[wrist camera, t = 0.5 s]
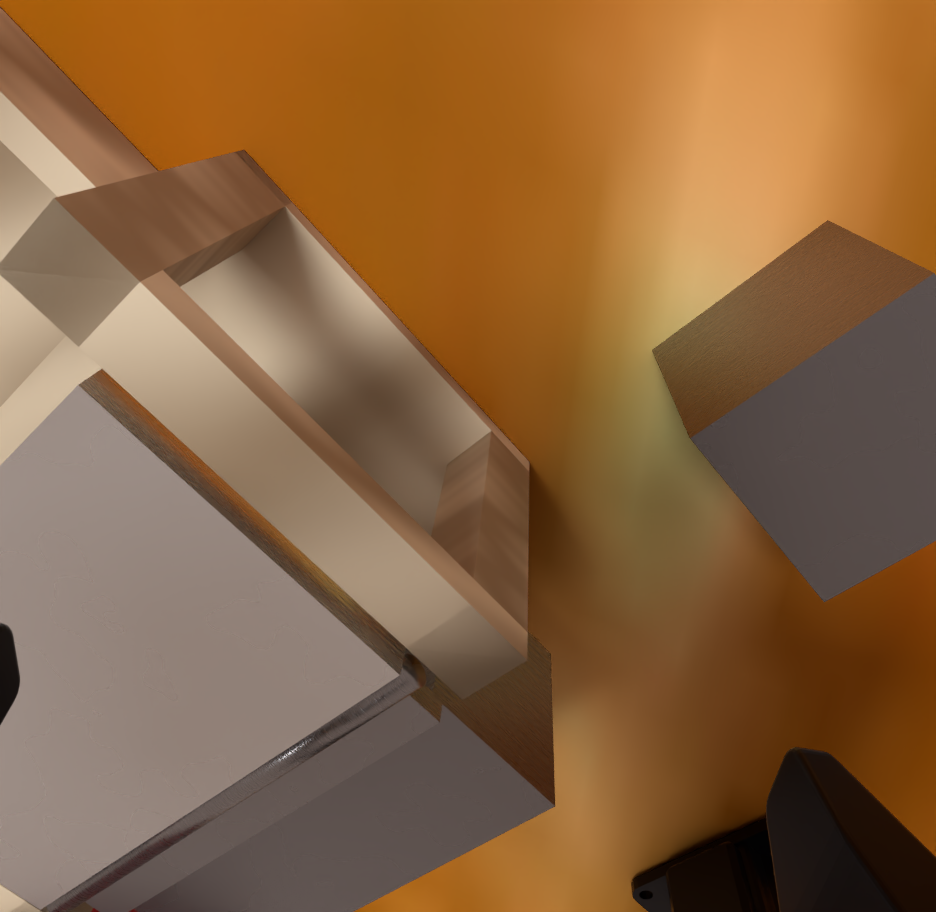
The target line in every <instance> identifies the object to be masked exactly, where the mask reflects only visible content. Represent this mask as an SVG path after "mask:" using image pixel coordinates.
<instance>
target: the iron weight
mask: <svg viewBox="0 0 936 912" xmlns="http://www.w3.org/2000/svg"><path fill="white" fill-rule="evenodd" d="M652 351H653V353H654V355H655V358H656V360H657V362H658V365H659V367H660V369H661V372H662V374H663V376H664V379H665V381H666V383H667V386H668V388H669V390H670V393H671V395H672V397H673V400H674V402H675V404H676V407H677V409H678V411H679V414H680V416H681V418H682V421H683V423H684V425H685V428H686V430H687V432H688V435H689V437H690V439H691V440H692V441H693V443H694V444H695V445H696V446H697V447H698V449H699V450H700V451H701V452H702V454H703V455H704V456H705V457H706V458H707V460H708V461H709V462H710V463H711V465H712V466H713V467H714V468H715V469H716V471H717V472H718V473H719V474H720V476H721V477H722V478H723V479H724V480H725V482H726V483H727V484H728V485H729V487H730V488H731V489H732V490H733V491H734V493H735V494H736V495H737V496H738V498H739V499H740V500H741V501H742V502H743V504H744V505H745V506H746V507H747V509H748V510H749V511H750V512H751V513H752V515H753V516H754V517H755V518H756V519H757V521H758V522H759V523H760V524H761V526H762V527H763V528H764V529H765V530H766V532H767V533H768V534H769V535H770V537H771V538H772V539H773V540H774V541H775V543H776V544H777V545H778V546H779V548H780V549H781V550H782V551H783V552H784V554H785V555H786V556H787V557H788V559H789V560H790V561H791V562H792V563H793V565H794V566H795V567H796V568H797V570H798V571H799V572H800V573H801V574H802V576H803V577H804V578H805V579H806V581H807V582H808V583H809V584H810V585H811V587H812V588H813V589H814V590H815V592H816V593H817V594H818V595H819V596H820V598H821V599H822V600H823V601H824V602H825V601H827V600H829V599H831V598H833V597H834V596H836V595H838V594H840V593H842V592H844V591H845V590H847V589H849V588H851V587H853V586H854V585H856V584H858V583H860V582H862V581H863V580H865V579H867V578H869V577H871V576H873V575H874V574H876V573H878V572H880V571H882V570H883V569H885V568H887V567H889V566H891V565H892V564H894V563H896V562H898V561H900V560H902V559H903V558H905V557H907V556H909V555H911V554H912V553H914V552H916V551H918V550H920V549H921V548H923V547H925V546H927V545H929V544H931V543H932V542H934V541H936V275H935V273H933V272H931V271H929V270H927V269H925V268H923V267H921V266H919V265H917V264H915V263H913V262H911V261H909V260H907V259H905V258H903V257H901V256H899V255H897V254H895V253H893V252H891V251H889V250H887V249H885V248H883V247H881V246H879V245H877V244H875V243H872V242H870V241H868V240H866V239H864V238H862V237H860V236H858V235H856V234H854V233H852V232H850V231H848V230H846V229H844V228H842V227H840V226H838V225H836V224H834V223H832V222H830V221H828V220H827V221H826V222H825V223H823V224H822V225H821V226H819V227H818V228H817V229H815V230H814V231H813V232H811V233H810V234H809V235H807V236H806V237H804V238H803V239H802V240H800V241H799V242H798V243H796V244H795V245H794V246H792V247H791V248H790V249H788V250H787V251H786V252H784V253H783V254H781V255H780V256H779V257H777V258H776V259H775V260H773V261H772V262H771V263H769V264H768V265H767V266H765V267H764V268H762V269H761V270H760V271H758V272H757V273H756V274H754V275H753V276H752V277H750V278H749V279H748V280H746V281H745V282H744V283H742V284H741V285H739V286H738V287H737V288H735V289H734V290H733V291H731V292H730V293H729V294H727V295H726V296H725V297H723V298H722V299H721V300H719V301H718V302H716V303H715V304H714V305H712V306H711V307H710V308H708V309H707V310H706V311H704V312H703V313H702V314H700V315H699V316H698V317H696V318H695V319H693V320H692V321H691V322H689V323H688V324H687V325H685V326H684V327H683V328H681V329H680V330H679V331H677V332H676V333H675V334H673V335H672V336H670V337H669V338H668V339H666V340H665V341H664V342H662V343H661V344H660V345H658V346H657V347H656V348H654V349H653V350H652Z"/></svg>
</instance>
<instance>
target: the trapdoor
mask: <svg viewBox="0 0 936 912" xmlns="http://www.w3.org/2000/svg"><path fill="white" fill-rule="evenodd" d="M0 623H3V624H5V625H8V626H9V627H10V629H11V630H12V633H13V637H14V643H15V649H16V655H17V661H18V667H19V673H20V687H19V691H18V694H17V696H16V699H15V701H14V703H13V704H12V706H11V708H10V710H9V711H8V713H7V715H6V717H5V718H4V720H3V722H2V724H1V725H0V884H1V885H3V886H4V887H6V888H7V889H9V890H11V891H12V892H14V893H15V894H17V895H18V896H20V897H21V898H23V899H24V900H26V901H28V902H29V903H31V904H32V905H34V906H35V907H37V908H38V909H40V910H41V909H43V908H44V907H47V910H48V911H49V912H70V911H71V910H73V909H74V908H76V907H78V906H79V905H81V904H82V903H84V902H86V903H87V904H89V905H90V906H92V907H93V908H95V909H96V910H98V911H99V912H129V911H131V910H132V909H135V910H136V911H138V912H353V911H355V910H357V909H359V908H361V907H363V906H365V905H367V904H369V903H371V902H373V901H374V900H376V899H378V898H380V897H382V896H384V895H386V894H388V893H390V892H392V891H394V890H396V889H397V888H399V887H401V886H403V885H405V884H407V883H409V882H411V881H413V880H415V879H417V878H419V877H420V876H422V875H424V874H426V873H428V872H430V871H432V870H434V869H436V868H438V867H440V866H442V865H443V864H445V863H447V862H449V861H451V860H453V859H455V858H457V857H459V856H461V855H463V854H465V853H466V852H468V851H470V850H472V849H474V848H476V847H478V846H480V845H482V844H484V843H486V842H488V841H489V840H491V839H493V838H495V837H497V836H499V835H501V834H503V833H505V832H507V831H509V830H511V829H512V828H514V827H516V826H518V825H520V824H522V823H524V822H526V821H528V820H530V819H532V818H534V817H535V816H537V815H539V814H541V813H543V812H545V811H547V810H549V809H551V808H553V807H555V787H554V752H553V718H552V684H551V653H549V652H548V651H547V650H546V649H545V648H544V647H543V646H542V645H541V644H540V643H539V642H538V641H537V640H536V639H535V638H534V637H533V636H532V635H531V634H530V633H529V632H528V644H527V661H525V662H524V663H522V664H520V665H519V666H517V667H516V668H514V669H512V670H511V671H509V672H507V673H506V674H504V675H502V676H501V677H499V678H498V679H496V680H494V681H493V682H491V683H489V684H488V685H486V686H485V687H483V688H481V689H480V690H478V691H476V692H475V693H473V694H472V695H470V696H468V697H467V698H465V699H463V700H462V699H461V698H460V697H459V696H458V695H457V694H456V693H455V692H454V691H453V690H451V689H450V688H449V687H448V686H447V685H446V684H445V683H444V682H443V681H442V680H441V679H439V678H438V677H437V676H436V675H435V674H434V673H433V672H432V671H431V670H430V669H429V668H428V667H426V666H425V665H424V664H423V663H422V662H421V661H420V660H419V659H418V658H417V657H416V656H414V655H413V654H412V653H411V652H410V651H409V650H408V649H407V648H406V647H405V646H404V645H402V644H401V643H400V642H399V641H398V640H397V639H396V638H395V637H394V636H393V635H392V634H391V633H389V632H388V631H387V630H386V629H385V628H384V627H383V626H382V625H381V624H380V623H379V622H377V621H376V620H375V619H374V618H373V617H372V616H371V615H370V614H369V613H368V612H367V611H365V610H364V609H363V608H362V607H361V606H360V605H359V604H358V603H357V602H356V601H355V600H354V599H352V598H351V597H350V596H349V595H348V594H347V593H346V592H345V591H344V590H343V589H342V588H340V587H339V586H338V585H337V584H336V583H335V582H334V581H333V580H332V579H331V578H330V577H328V576H327V575H326V574H325V573H324V572H323V571H322V570H321V569H320V568H319V567H318V566H317V565H315V564H314V563H313V562H312V561H311V560H310V559H309V558H308V557H307V556H306V555H305V554H303V553H302V552H301V551H300V550H299V549H298V548H297V547H296V546H295V545H294V544H293V543H291V542H290V541H289V540H288V539H287V538H286V537H285V536H284V535H283V534H282V533H281V532H280V531H278V530H277V529H276V528H275V527H274V526H273V525H272V524H271V523H270V522H269V521H268V520H266V519H265V518H264V517H263V516H262V515H261V514H260V513H259V512H258V511H257V510H256V509H254V508H253V507H252V506H251V505H250V504H249V503H248V502H247V501H246V500H245V499H244V498H243V497H241V496H240V495H239V494H238V493H237V492H236V491H235V490H234V489H233V488H232V487H231V486H229V485H228V484H227V483H226V482H225V481H224V480H223V479H222V478H221V477H220V476H219V475H217V474H216V473H215V472H214V471H213V470H212V469H211V468H210V467H209V466H208V465H207V464H206V463H204V462H203V461H202V460H201V459H200V458H199V457H198V456H197V455H196V454H195V453H194V452H192V451H191V450H190V449H189V448H188V447H187V446H186V445H185V444H184V443H183V442H182V441H180V440H179V439H178V438H177V437H176V436H175V435H174V434H173V433H172V432H171V431H170V430H169V429H167V428H166V427H165V426H164V425H163V424H162V423H161V422H160V421H159V420H158V419H157V418H155V417H154V416H153V415H152V414H151V413H150V412H149V411H148V410H147V409H146V408H145V407H143V406H142V405H141V404H140V403H139V402H138V401H137V400H136V399H135V398H134V397H133V396H132V395H130V394H129V393H128V392H127V391H126V390H125V389H124V388H123V387H122V386H121V385H120V384H118V383H117V382H116V381H115V380H114V379H113V378H112V377H111V376H110V375H109V374H108V373H106V372H105V371H104V370H103V369H101V370H99V371H98V372H96V373H95V374H93V375H92V376H90V377H89V378H87V379H86V380H84V381H83V382H82V383H80V384H79V385H77V386H76V387H75V388H74V390H73V391H72V392H71V393H70V394H69V395H68V396H67V397H66V398H65V399H64V400H63V401H62V402H61V403H60V404H59V405H58V406H57V407H56V408H55V409H54V410H53V411H52V412H51V413H50V414H49V415H48V416H47V418H46V419H45V420H44V421H43V422H42V423H41V424H40V425H39V426H38V427H37V428H36V429H35V430H34V431H33V432H32V433H31V434H30V435H29V436H28V437H27V438H26V439H25V440H24V441H23V442H22V443H21V445H20V446H19V447H18V448H17V449H16V450H15V451H14V452H13V453H12V454H11V455H10V456H9V457H8V458H7V459H6V460H5V461H4V462H3V463H2V464H1V465H0Z"/></svg>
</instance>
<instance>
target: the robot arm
mask: <svg viewBox="0 0 936 912" xmlns="http://www.w3.org/2000/svg"><path fill="white" fill-rule="evenodd" d="M19 687H20V673H19V667H18V661H17V655H16V649H15V643H14V637H13V633H12V630H11V629H10V627H9V626H8V625H5V624H3V623H0V725H1V724H2V722H3V720H4V718H5V717H6V715H7V713H8V711H9V710H10V708H11V706H12V704H13V703H14V701H15V699H16V696H17V694H18V691H19ZM631 886H632V895H633V898H634V899H635V900H636V901H637V902H638V903H639V904H640V905H641V906H642V907H643V908H645V909H646V910H647V911H648V912H936V857H935V856H934V855H933V854H932V853H931V852H930V851H929V850H928V849H927V848H926V847H925V846H924V845H923V844H922V843H921V842H920V841H919V840H918V839H917V838H916V837H915V836H914V835H913V834H912V833H911V832H910V831H909V830H908V829H907V828H906V827H905V826H904V825H903V824H902V823H901V822H900V821H899V820H898V819H897V818H896V817H895V816H893V815H892V814H891V813H890V812H889V811H888V810H887V809H886V808H885V807H884V806H883V805H882V804H881V803H880V802H879V801H878V800H877V799H876V798H875V797H874V796H873V795H872V794H871V793H870V792H869V791H868V790H867V789H866V788H865V787H864V786H863V785H862V784H861V783H860V782H859V781H858V780H857V779H856V778H855V777H854V776H853V775H852V774H851V773H850V772H849V771H848V770H847V769H846V768H845V767H844V766H843V765H842V764H841V763H840V762H838V761H837V760H836V759H835V758H834V757H833V756H832V755H831V754H829V753H827V752H824V751H819V750H813V749H806V748H800V747H795V748H791V749H790V750H789V751H788V752H787V753H786V755H785V756H784V759H783V761H782V764H781V766H780V769H779V771H778V773H777V776H776V778H775V781H774V783H773V786H772V788H771V790H770V793H769V796H768V799H767V805H766V818H765V819H763V820H761V821H758V822H756V823H754V824H752V825H750V826H748V827H745V828H743V829H741V830H739V831H737V832H735V833H732V834H730V835H728V836H726V837H724V838H721V839H719V840H717V841H715V842H713V843H711V844H708V845H706V846H704V847H702V848H700V849H698V850H695V851H693V852H691V853H689V854H687V855H685V856H682V857H680V858H678V859H676V860H674V861H672V862H669V863H667V864H665V865H663V866H661V867H659V868H656V869H654V870H652V871H650V872H648V873H645V874H643V875H641V876H639V877H637V878H635V879H634V880H633V881H632V883H631Z"/></svg>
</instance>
